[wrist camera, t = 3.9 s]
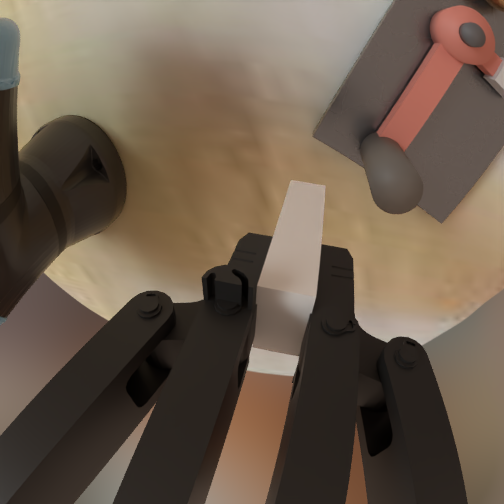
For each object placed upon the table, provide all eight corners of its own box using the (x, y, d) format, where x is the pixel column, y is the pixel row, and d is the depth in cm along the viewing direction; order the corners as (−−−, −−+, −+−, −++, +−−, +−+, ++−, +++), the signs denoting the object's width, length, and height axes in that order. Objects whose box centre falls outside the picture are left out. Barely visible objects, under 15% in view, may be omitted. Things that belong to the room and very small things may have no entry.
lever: (426, 207, 23) (449, 258, 17) (346, 152, 22) (352, 190, 16) (521, 72, 13) (573, 89, 7) (443, -2, 12) (485, -16, 6)
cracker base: (436, 214, 25) (454, 250, 20) (313, 131, 23) (309, 152, 19) (557, 28, 9) (592, 34, 4) (443, -79, 7) (465, -99, 3)
